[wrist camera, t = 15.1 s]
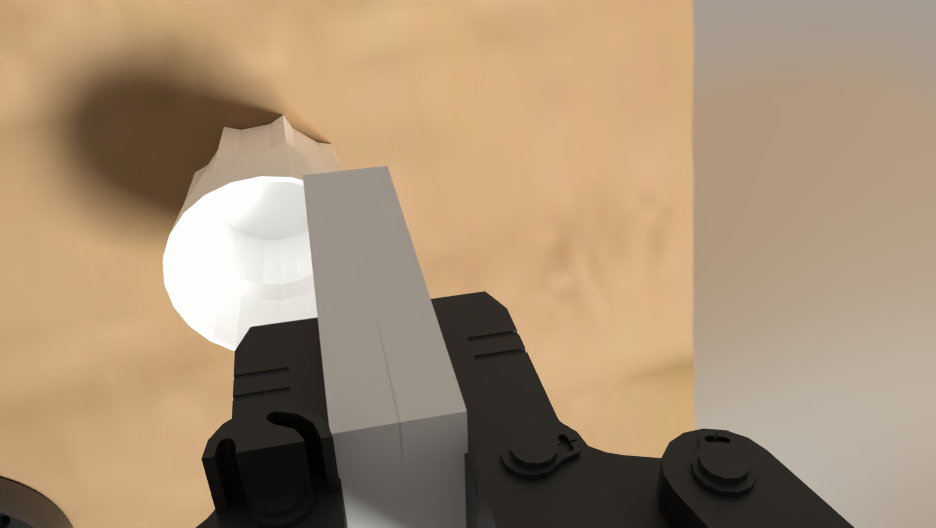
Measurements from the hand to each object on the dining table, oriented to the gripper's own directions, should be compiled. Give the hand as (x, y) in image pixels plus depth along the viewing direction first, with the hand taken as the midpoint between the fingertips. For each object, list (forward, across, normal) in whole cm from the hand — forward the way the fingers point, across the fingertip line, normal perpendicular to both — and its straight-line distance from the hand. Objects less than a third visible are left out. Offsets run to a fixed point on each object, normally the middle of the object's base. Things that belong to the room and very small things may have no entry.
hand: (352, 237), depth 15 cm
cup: (+31, -3, -13) cm, 33 cm away
